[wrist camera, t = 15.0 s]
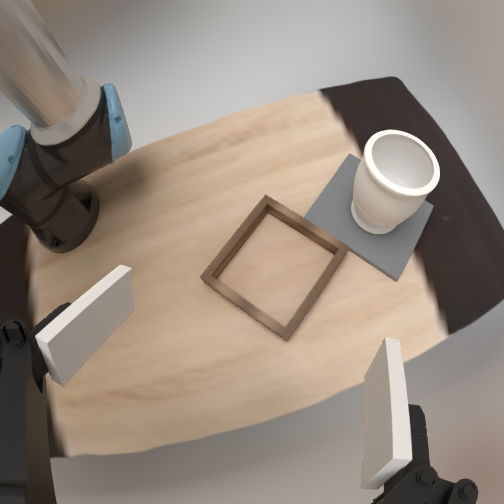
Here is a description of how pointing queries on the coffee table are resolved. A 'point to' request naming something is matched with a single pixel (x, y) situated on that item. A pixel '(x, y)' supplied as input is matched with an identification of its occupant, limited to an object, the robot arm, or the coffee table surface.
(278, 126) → the coffee table surface
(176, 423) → the coffee table surface
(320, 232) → the collar
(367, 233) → the board
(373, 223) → the jar
